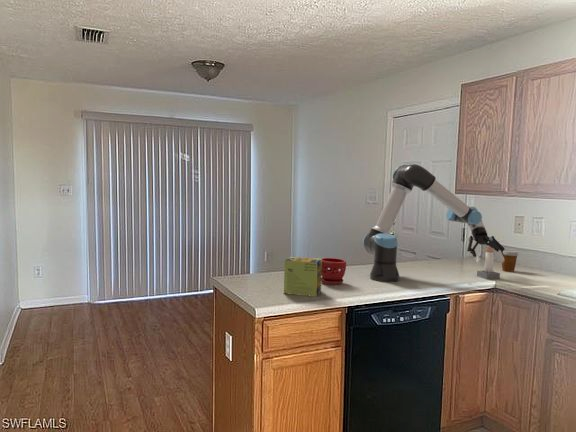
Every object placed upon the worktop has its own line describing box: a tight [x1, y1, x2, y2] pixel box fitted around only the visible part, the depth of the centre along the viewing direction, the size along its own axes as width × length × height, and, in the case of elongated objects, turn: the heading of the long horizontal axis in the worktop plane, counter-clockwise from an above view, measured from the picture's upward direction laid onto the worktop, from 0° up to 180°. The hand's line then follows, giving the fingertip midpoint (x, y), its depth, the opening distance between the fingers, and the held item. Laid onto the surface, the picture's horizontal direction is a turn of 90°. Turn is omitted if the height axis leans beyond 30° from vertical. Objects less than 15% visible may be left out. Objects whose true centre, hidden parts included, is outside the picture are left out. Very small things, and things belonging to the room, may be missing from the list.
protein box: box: [283, 256, 322, 297], centre depth 201 cm, size 10×15×16 cm
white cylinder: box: [483, 247, 495, 273], centre depth 237 cm, size 4×4×16 cm
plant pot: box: [321, 257, 347, 286], centre depth 222 cm, size 13×13×12 cm
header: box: [476, 269, 501, 280], centre depth 238 cm, size 8×8×4 cm
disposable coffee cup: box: [501, 249, 519, 273], centre depth 262 cm, size 10×10×12 cm
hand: (490, 261), depth 236 cm, fingers open, 13 cm apart
